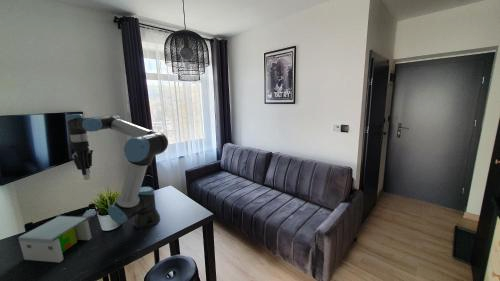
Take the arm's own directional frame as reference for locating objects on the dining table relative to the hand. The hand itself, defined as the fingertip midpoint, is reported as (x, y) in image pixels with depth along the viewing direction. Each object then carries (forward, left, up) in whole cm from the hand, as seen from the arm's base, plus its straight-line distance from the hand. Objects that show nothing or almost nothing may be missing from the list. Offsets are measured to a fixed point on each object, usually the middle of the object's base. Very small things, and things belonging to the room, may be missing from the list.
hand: (87, 179), depth 122 cm
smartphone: (+18, -15, -32) cm, 40 cm away
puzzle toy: (+3, +19, -32) cm, 37 cm away
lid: (+2, +20, -20) cm, 29 cm away
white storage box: (+2, +20, -32) cm, 37 cm away
